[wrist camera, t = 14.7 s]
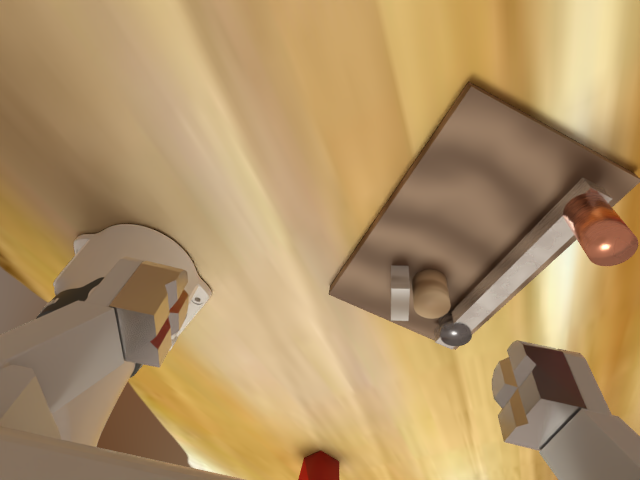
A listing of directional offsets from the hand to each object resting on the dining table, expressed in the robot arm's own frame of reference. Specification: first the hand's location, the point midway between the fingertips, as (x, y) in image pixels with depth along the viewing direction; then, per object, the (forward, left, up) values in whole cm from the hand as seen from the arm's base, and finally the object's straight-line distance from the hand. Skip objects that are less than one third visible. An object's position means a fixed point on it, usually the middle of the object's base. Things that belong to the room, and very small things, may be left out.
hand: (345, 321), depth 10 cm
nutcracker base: (-14, -18, -33) cm, 40 cm away
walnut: (-20, -18, -32) cm, 42 cm away
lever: (-13, -24, -31) cm, 41 cm away
